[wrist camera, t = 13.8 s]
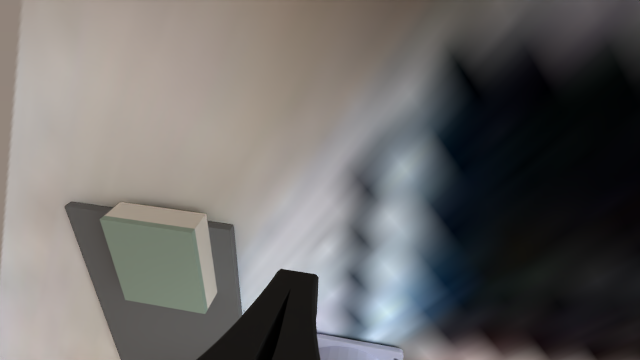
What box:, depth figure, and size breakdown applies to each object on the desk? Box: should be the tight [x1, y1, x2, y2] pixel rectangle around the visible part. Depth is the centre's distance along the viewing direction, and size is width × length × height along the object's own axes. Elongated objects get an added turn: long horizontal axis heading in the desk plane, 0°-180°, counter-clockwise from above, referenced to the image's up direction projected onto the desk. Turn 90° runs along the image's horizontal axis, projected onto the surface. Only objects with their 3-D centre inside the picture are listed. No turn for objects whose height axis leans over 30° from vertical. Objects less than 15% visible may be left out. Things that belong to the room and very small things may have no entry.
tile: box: [100, 202, 217, 314], centre depth 25 cm, size 7×2×6 cm
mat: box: [65, 202, 242, 360], centre depth 30 cm, size 20×12×1 cm, turn 177°
